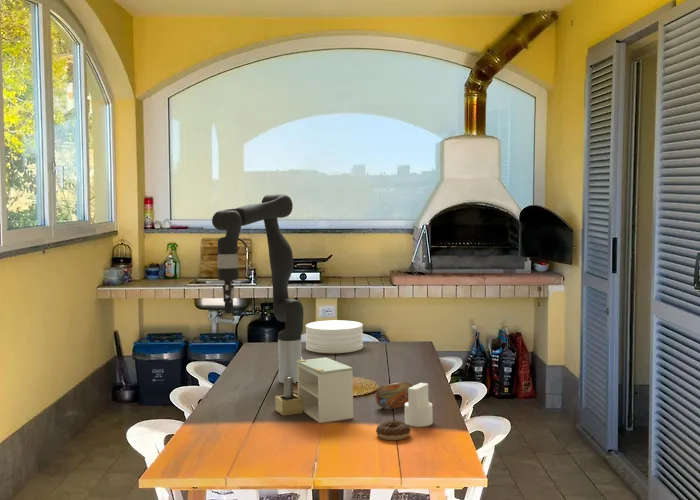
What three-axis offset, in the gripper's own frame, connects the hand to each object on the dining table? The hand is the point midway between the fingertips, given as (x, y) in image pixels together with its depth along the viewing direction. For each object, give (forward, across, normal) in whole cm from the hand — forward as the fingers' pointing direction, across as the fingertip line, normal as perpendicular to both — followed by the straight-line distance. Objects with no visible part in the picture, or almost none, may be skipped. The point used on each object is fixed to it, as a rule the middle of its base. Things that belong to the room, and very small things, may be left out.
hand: (229, 311), depth 271 cm
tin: (+33, -13, -58) cm, 68 cm away
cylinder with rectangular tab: (+33, -32, -63) cm, 78 cm away
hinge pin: (+33, -15, -21) cm, 42 cm away
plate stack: (+34, +97, -43) cm, 112 cm away
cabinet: (+33, -18, -33) cm, 50 cm away
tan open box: (+33, -15, -21) cm, 42 cm away
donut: (+34, -46, -53) cm, 77 cm away
